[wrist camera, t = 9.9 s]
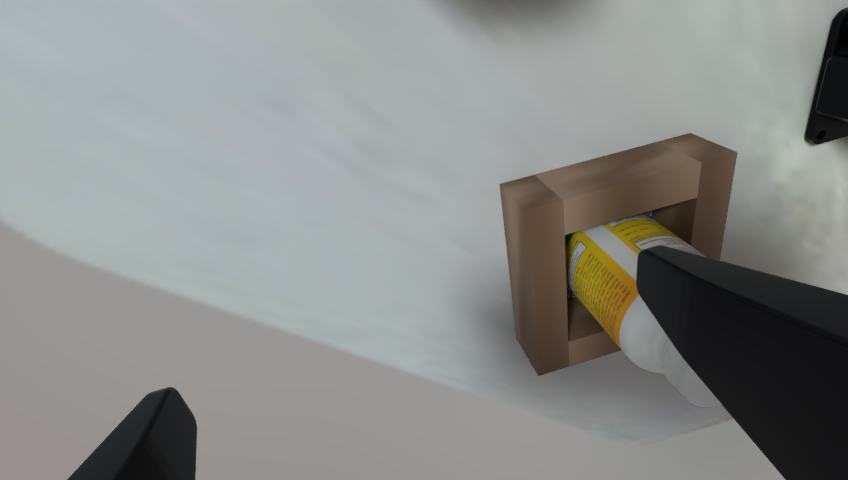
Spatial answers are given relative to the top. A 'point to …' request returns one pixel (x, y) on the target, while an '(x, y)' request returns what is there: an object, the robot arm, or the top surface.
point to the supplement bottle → (629, 296)
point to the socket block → (595, 205)
